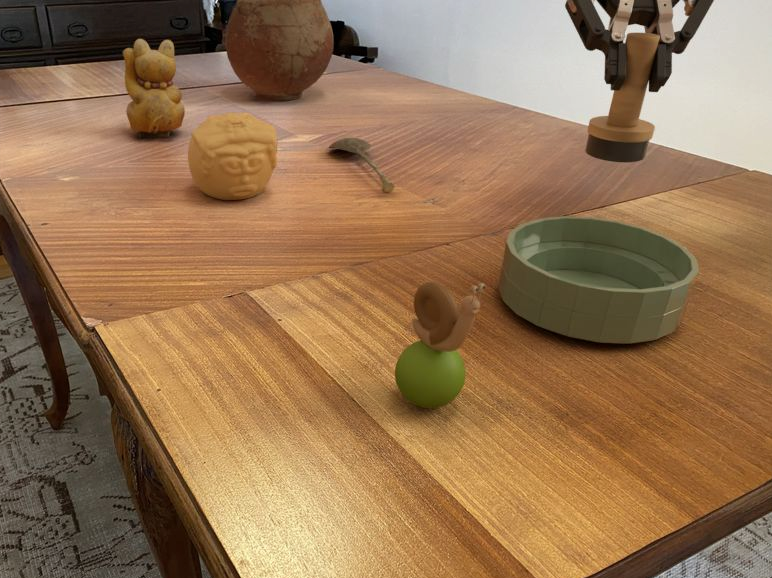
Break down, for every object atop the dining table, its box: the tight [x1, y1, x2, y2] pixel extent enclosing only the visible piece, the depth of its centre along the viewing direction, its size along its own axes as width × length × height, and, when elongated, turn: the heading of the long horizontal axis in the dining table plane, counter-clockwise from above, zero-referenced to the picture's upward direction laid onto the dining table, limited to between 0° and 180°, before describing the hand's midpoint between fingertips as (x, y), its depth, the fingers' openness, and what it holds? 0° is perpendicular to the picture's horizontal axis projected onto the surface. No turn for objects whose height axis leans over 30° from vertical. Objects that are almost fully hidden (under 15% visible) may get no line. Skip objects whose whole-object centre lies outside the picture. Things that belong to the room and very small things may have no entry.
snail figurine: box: [394, 281, 486, 409], centre depth 53 cm, size 5×6×12 cm
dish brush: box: [584, 32, 660, 163], centre depth 68 cm, size 6×6×11 cm
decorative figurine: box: [122, 38, 186, 139], centre depth 117 cm, size 10×8×15 cm
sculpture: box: [187, 111, 278, 201], centre depth 94 cm, size 12×12×11 cm
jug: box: [224, 0, 335, 102], centre depth 138 cm, size 22×22×30 cm
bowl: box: [497, 215, 700, 345], centre depth 69 cm, size 17×17×6 cm
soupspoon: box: [328, 137, 396, 194], centre depth 106 cm, size 22×3×7 cm
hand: (637, 85), depth 65 cm, fingers closed on dish brush, 3 cm apart
